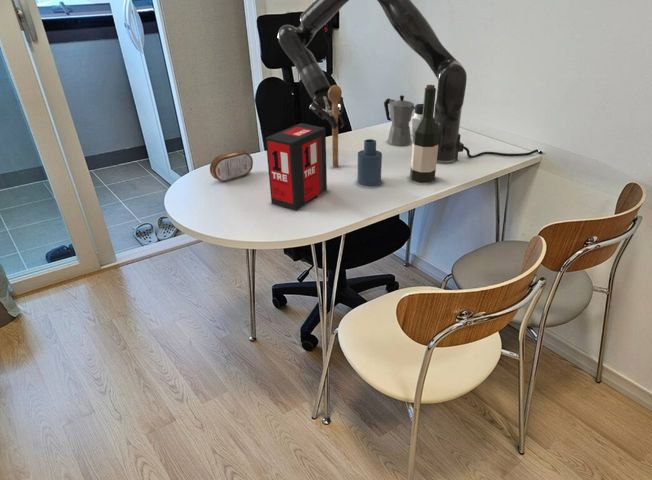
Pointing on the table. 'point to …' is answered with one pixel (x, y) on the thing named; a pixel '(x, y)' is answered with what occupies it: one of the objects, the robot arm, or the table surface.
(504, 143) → the table surface
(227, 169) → the tin
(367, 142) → the bottle
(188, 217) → the table surface
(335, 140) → the spoon
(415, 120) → the medicine bottle
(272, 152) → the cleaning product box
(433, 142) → the wine bottle
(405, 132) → the coffeepot
